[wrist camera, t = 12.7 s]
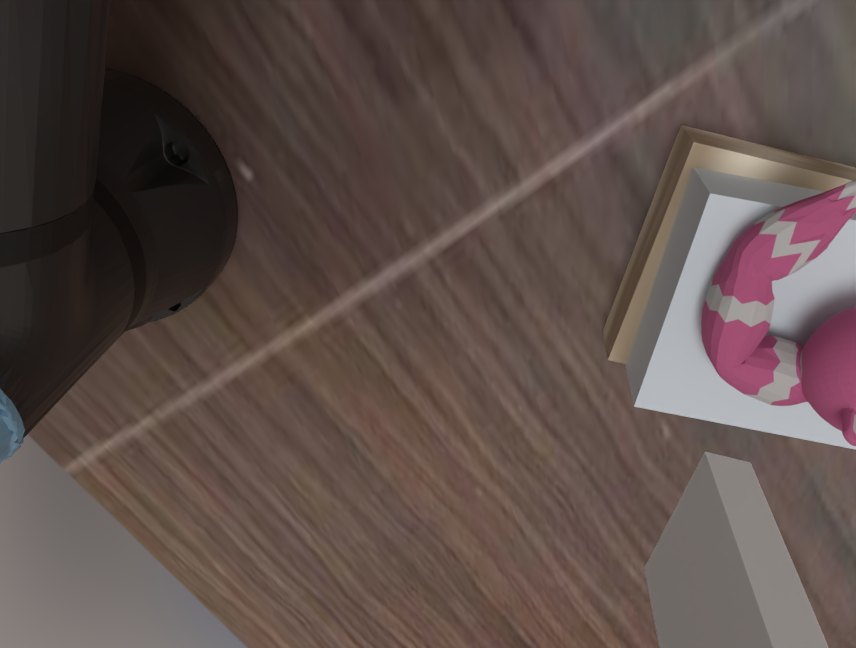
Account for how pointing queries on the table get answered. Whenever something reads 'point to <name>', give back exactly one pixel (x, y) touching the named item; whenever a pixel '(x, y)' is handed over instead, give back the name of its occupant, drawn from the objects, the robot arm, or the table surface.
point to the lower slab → (657, 227)
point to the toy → (753, 306)
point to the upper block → (687, 289)
